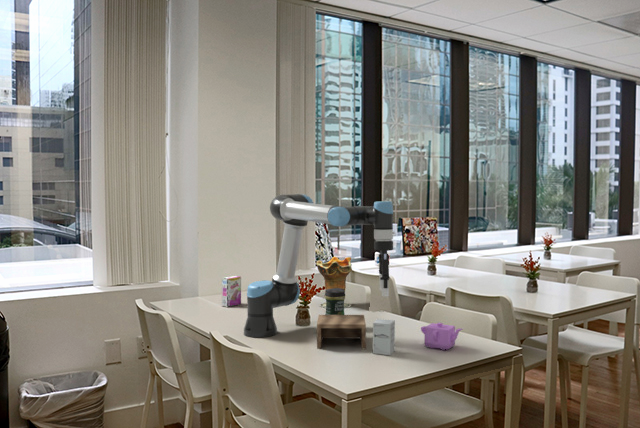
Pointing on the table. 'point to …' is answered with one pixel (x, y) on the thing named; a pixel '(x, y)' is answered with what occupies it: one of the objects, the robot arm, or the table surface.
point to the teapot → (440, 335)
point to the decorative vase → (335, 274)
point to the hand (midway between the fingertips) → (384, 293)
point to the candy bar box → (231, 290)
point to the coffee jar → (335, 301)
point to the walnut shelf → (341, 327)
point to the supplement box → (383, 336)
